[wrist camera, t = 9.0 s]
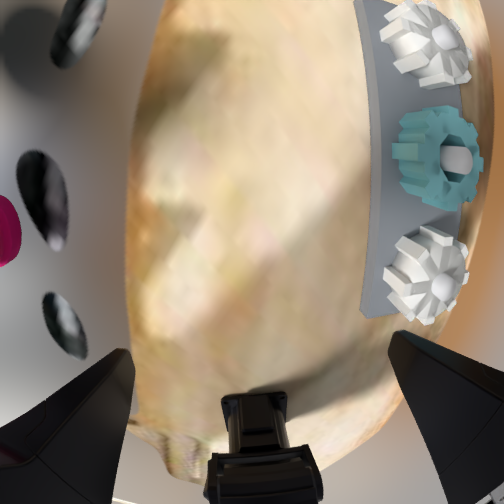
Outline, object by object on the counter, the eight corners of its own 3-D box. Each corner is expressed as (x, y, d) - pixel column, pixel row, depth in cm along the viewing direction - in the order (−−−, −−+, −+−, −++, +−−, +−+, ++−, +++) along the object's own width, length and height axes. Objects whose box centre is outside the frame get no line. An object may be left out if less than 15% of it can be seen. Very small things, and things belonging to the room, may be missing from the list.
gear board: (435, 294, 22) (468, 323, 17) (359, 309, 22) (388, 348, 17) (437, 30, 13) (474, 16, 8) (353, 1, 13) (384, -29, 8)
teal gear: (455, 203, 18) (480, 212, 15) (390, 201, 17) (415, 210, 14) (456, 118, 15) (482, 118, 12) (389, 101, 15) (414, 95, 12)
